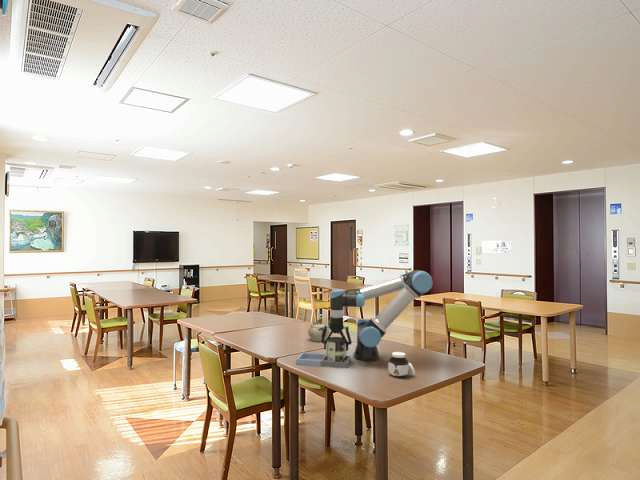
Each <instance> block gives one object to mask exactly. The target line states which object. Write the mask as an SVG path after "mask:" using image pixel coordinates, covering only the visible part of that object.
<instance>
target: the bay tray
mask: <svg viewBox="0 0 640 480" xmlns="http://www.w3.org/2000/svg"><path fill="white" fill-rule="evenodd" d="M351 358H352V357H351V355H346V357H345V362H333V361H327V356H326V353H311V352H301V353H300V355H299V356H298V357H297V358H296V359H295V365H300V366H311V367H313V366H314V367H316V366H317V367H328V368H340V369H348V368H349V365H350V363H351V361H352V360H351Z"/></svg>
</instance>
